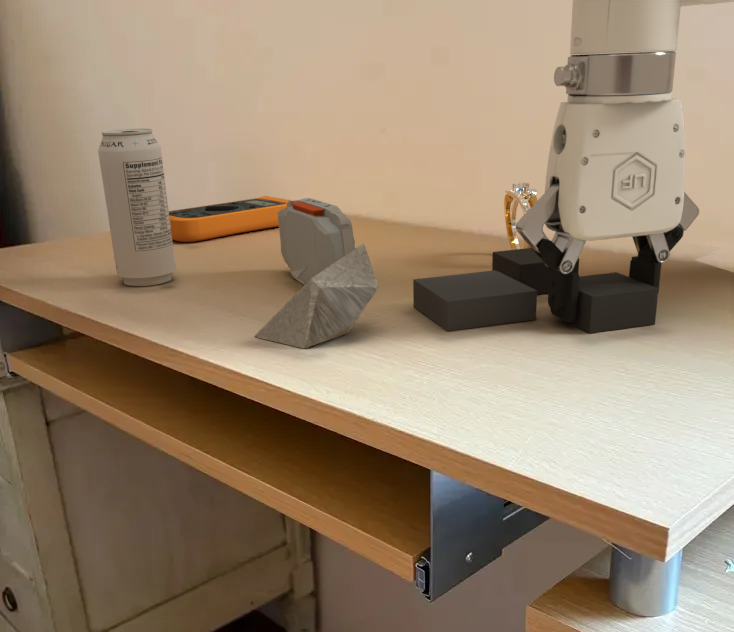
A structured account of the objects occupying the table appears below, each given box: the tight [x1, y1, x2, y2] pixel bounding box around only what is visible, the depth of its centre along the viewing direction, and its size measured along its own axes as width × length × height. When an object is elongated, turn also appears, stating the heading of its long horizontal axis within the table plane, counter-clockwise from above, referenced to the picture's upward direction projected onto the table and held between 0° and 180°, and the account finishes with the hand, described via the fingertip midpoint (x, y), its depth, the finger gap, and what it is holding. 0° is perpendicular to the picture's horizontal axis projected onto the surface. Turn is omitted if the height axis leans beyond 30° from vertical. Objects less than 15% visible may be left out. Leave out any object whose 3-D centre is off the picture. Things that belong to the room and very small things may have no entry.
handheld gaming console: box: [278, 197, 356, 284], centre depth 82 cm, size 14×3×8 cm, turn 27°
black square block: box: [568, 271, 659, 334], centre depth 68 cm, size 6×6×3 cm
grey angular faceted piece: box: [253, 242, 380, 349], centre depth 67 cm, size 12×6×9 cm
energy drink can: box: [97, 128, 177, 287], centre depth 84 cm, size 6×6×15 cm
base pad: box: [412, 270, 538, 332], centre depth 71 cm, size 8×8×2 cm
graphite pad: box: [491, 248, 580, 295], centre depth 79 cm, size 6×6×3 cm
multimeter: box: [169, 195, 293, 243], centre depth 111 cm, size 9×18×3 cm, turn 129°
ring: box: [503, 182, 538, 250], centre depth 89 cm, size 7×3×8 cm, turn 5°
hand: (602, 310), depth 68 cm, fingers open, 6 cm apart
